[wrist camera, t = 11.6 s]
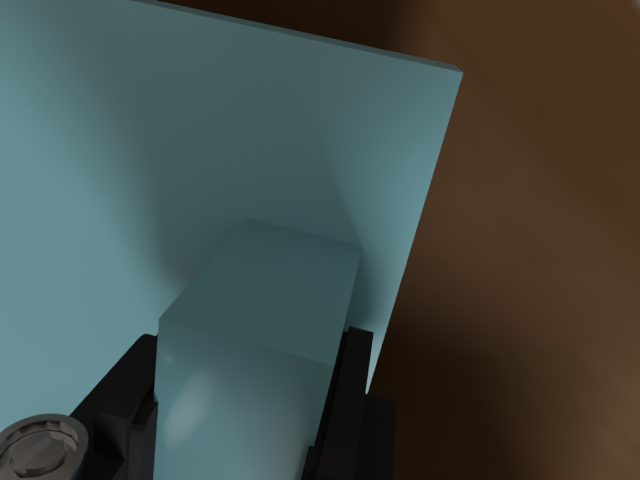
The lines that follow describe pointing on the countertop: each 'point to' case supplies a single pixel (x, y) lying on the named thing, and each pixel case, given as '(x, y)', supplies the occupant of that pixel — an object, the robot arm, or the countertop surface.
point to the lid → (203, 216)
